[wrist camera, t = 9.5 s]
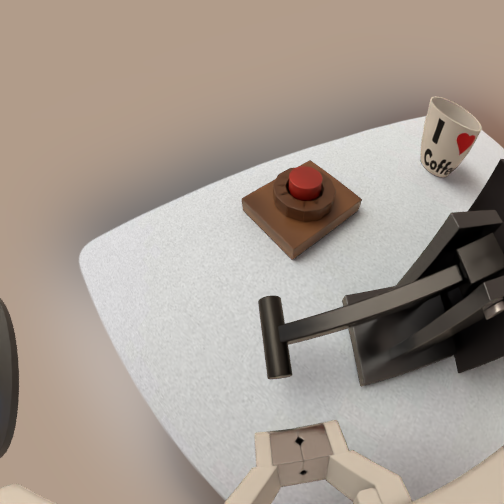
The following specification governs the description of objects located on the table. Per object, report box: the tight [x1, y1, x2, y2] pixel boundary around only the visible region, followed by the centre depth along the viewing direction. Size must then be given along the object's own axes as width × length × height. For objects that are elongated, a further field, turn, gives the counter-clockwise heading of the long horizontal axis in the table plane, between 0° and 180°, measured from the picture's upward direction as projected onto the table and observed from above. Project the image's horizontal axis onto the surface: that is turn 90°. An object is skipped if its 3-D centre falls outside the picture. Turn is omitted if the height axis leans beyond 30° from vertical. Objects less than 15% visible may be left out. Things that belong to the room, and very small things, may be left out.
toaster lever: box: [258, 233, 504, 379], centre depth 14 cm, size 15×5×2 cm, turn 96°
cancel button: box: [289, 166, 322, 201], centre depth 26 cm, size 3×3×2 cm
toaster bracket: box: [342, 210, 504, 386], centre depth 16 cm, size 10×8×14 cm
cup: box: [421, 97, 482, 177], centre depth 29 cm, size 8×8×10 cm
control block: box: [242, 161, 362, 260], centre depth 28 cm, size 10×8×4 cm
